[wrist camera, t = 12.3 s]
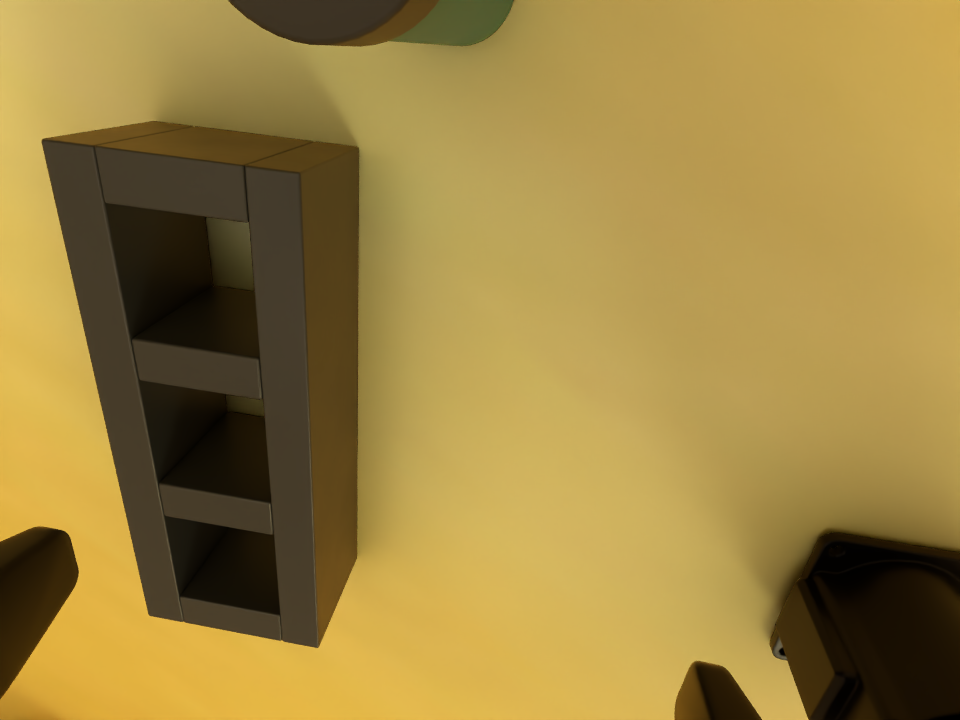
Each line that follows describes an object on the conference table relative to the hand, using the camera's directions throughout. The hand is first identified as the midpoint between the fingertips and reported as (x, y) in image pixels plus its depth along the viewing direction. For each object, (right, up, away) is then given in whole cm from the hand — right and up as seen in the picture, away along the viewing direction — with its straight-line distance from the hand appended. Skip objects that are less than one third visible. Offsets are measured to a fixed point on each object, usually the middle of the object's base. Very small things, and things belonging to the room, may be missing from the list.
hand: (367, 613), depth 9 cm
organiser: (-6, +3, +14) cm, 15 cm away
